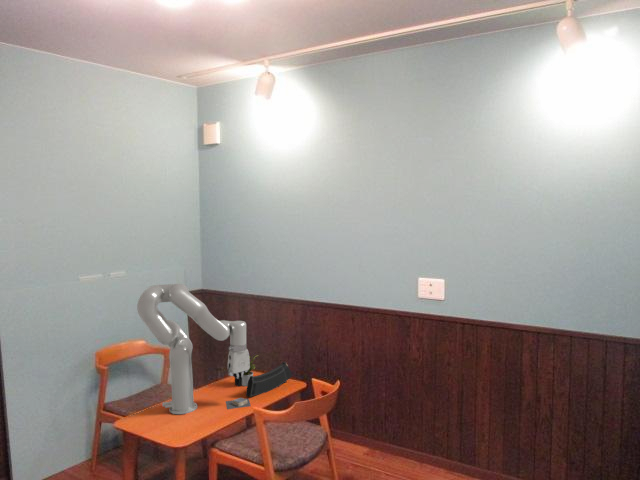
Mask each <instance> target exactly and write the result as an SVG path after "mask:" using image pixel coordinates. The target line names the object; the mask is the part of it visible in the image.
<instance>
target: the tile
mask: <svg viewBox="0 0 640 480" xmlns="http://www.w3.org/2000/svg"><path fill="white" fill-rule="evenodd" d="M246 399H247V398H244V397H239V398H235V399H231V401H232V403H233V404H234V405H236V406H242V405H244V404H247V400H246Z"/></svg>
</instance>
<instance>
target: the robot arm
mask: <svg viewBox="0 0 640 480" xmlns="http://www.w3.org/2000/svg"><path fill="white" fill-rule="evenodd" d="M138 298H139V299H138V301H137V305H136V310H137V314H138V316H139V318H140V319H141V320H142V322H143V323H144V324H145V325H146V327H147V329H149V331H150V332H151V333H152V335H153V336H154V337H155V338H156V340H157V341H158V342H159V344H161V345H165V346H167V345H168V347H169V348H170V350H169V355H168V357H169V358H168V359H169V365H170V366H169V367H170V381H171V400H169V401H164V402H162V407H163V408H165V409H167V408H169V409H168V410H169V413H170V414H173V415H186V414H190V413H193V412H194V411H196V410H197V409H198V404H197V403H196V402H194V401H195V399H194V381H193V366H192V353H193V343H192V341H191V339H190V338H189V336H188V335H187V334H186V333H185V331H184V330H183V329H182V328H181V326H180V325H179V324H178V323H177V322H176V321H174V320H171V319H167V318H166V317H165V315H164V314H163V312H161V311H160V310H159V308H158V305H159V304H160V303H172V304H173V305H174V306H175V307H176V308H178V309H179V310H181V311H182V312H183V313H184V314H186V315H187V316H188V317H189V318H191V319H192V321H194V323H195V324H197V325H198V327H200V328H201V329H202V330H203V331H204V332H206V333H207V334H208V335H209V336H211V337H212V338H213V339H215V340H217V341H221V342H223V341H225V340H227V339H228V338H229V337H230V342H229V343H230V346H228V358H227V372H228V376H231V377H233V378H234V386H236V387H238V388H239V387H243V386H242V377H243V375H244V373H245V372H247V371H248V370H249V369H250V362H251V359H249V357H250V353H249V350H248V348H247V322H246V321H244V320H232V321H231V320H225V319H224V320H218V319H217V318H216V317H215V316H214V315H213V314H212V313H211V312H210V310H209V309H208V306H207V305H206V304H205V303H204V302H203V301H201V300H200V299H199V298H197V297H196V296H195V295H193V294H192V293H191V291H189V288H188V286H186V285H185V284H182V283H172V284H171V283H170V284H156V285H151V286H149V287H147V289H145V290H143V292H142V293H141V295H140V296H139V297H138Z"/></svg>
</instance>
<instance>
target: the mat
mask: <svg viewBox="0 0 640 480" xmlns="http://www.w3.org/2000/svg"><path fill="white" fill-rule="evenodd" d="M245 399H246V400H247V404H244V405H242V406H236V405H234V404H233V403H232V400H225V405H226V410H234V409H239V408H240V409H241V408H248V407H252V406H251V402H250V399H249V397H248V398H245Z"/></svg>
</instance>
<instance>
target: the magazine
mask: <svg viewBox="0 0 640 480" xmlns="http://www.w3.org/2000/svg"><path fill="white" fill-rule="evenodd" d="M292 376H293V375H292V371H291V369H290V367H289V365H288V364H287V362H285V361H282V363H281V364H279V365H277V367H275V368H273V369H272V370H269V371H267V372H265V373H261V374H259V375H253V376H250V378H249V380H248V385H247V386H246V391H245V396H246V397H248V398H251V397H253V396H257V395H259V396H260V395H262V394H264V393H268V392H270V391H273V390H275V389H276V388H278V387H281V385H282V384H284V383H285V384H287V382H288V380H290V379H291V378H292Z"/></svg>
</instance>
